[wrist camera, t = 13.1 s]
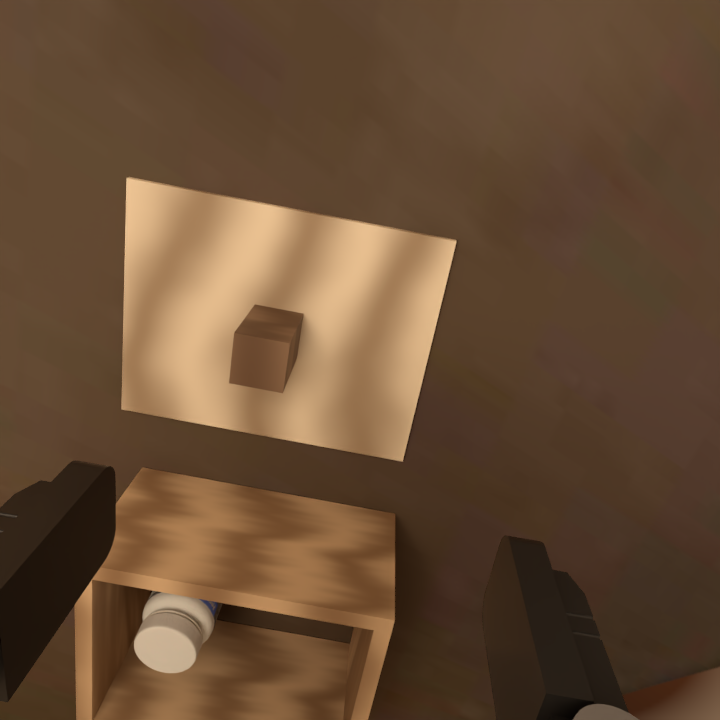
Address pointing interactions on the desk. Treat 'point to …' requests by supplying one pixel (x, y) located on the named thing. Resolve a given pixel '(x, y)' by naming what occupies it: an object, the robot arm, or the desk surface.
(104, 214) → the desk surface
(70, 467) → the robot arm
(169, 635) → the pill bottle
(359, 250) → the lid
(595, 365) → the desk surface
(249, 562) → the box
